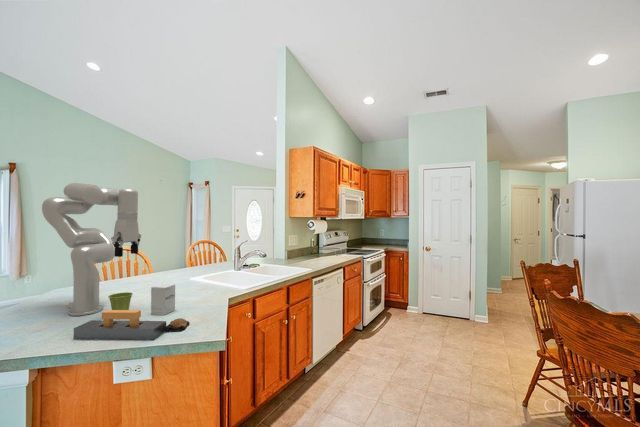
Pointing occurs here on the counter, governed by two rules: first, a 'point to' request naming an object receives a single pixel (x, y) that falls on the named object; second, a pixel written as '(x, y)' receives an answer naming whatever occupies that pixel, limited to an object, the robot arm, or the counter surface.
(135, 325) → the light wooden bench shape
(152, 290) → the supplement box
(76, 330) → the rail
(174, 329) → the toy turtle
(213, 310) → the counter surface
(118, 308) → the plant pot
